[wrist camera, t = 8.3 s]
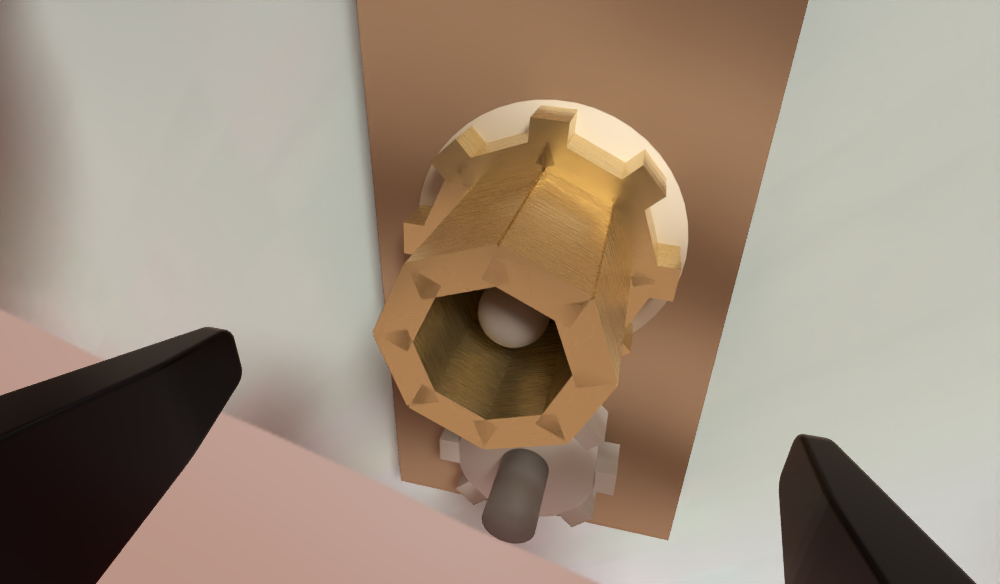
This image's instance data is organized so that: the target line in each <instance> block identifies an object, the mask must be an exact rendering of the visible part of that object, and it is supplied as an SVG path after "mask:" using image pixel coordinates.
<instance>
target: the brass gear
mask: <svg viewBox="0 0 1000 584" xmlns="http://www.w3.org/2000/svg"><path fill="white" fill-rule="evenodd" d="M577 113H578V109H570V108H561V107H553V106H545V105H541V106H540V107H539V108H538V109H537V110H536V111H535V112H534V114H533V115H532V116H531V117H530V123H529V131H527V132H524V133H520V134H517V135H513V136H509V137H506V138H502V139H499V140H495V141H492V142H488V143H485V141H484V140H483V139H482V138H481V136H480V135H479V134H478V133H477V131H476V130H475V129H474V128H473V126H471V127H469V128H468V129H467V130H466V131H464V132H463V133H462V134H461V135H460V136H458V137H457V138H456V139H455V140H454V141H452V142H451V143H450V144H449V145H448V146H447V147H446V148H444V149H443V150H442V151H441V152H440V153H439V154H438V155H436V156H435V157H434V158H433V159H432V160H431V161H430V162H431V164H432V165H433V166H434V167H435V168H436V170H437V171H438V172H439V173H440V174H441V175H442V177H443V178H444V179H445V181H444V183H443V185H442V187H441V189H440V192H439V194H438V196H437V198H436V200H435V203H434V205H433V206H429V205H423V204H422V205H421V206H420V207H419V208H418V209H417V210H416V211H415V212H414V213H413V214H412V215H411V216H410V217H409V218H408V219H407V220H405V221H404V222H403V224H404V253H406V254H411V256H410V258H409V259H408V260H407V261H406V262H405V263H404V264H403V267H402V269H401V271H400V273H399V275H398V278H397V280H396V282H395V284H394V287H393V289H392V291H391V293H390V295H389V298H388V300H387V302H386V304H385V306H384V309H383V311H382V313H381V315H380V317H379V320H378V322H377V324H376V326H375V328H374V331H373V333H374V334H373V336H374V338H375V340H376V342H377V344H378V346H379V348H380V351H381V353H382V355H383V357H384V359H385V361H386V363H387V365H388V367H389V369H390V371H391V374H392V376H393V378H394V380H395V382H396V384H397V386H398V388H399V390H400V392H401V394H402V397H403V399H404V401H405V403H406V405H410V406H409V408H411V409H412V410H414V411H416V412H418V413H419V414H421V415H423V416H425V417H427V418H428V419H430V420H432V421H434V422H435V423H437V424H439V425H441V426H443V427H444V428H446V429H448V430H450V431H451V432H453V433H455V434H457V435H459V436H460V437H462V438H464V439H466V440H467V441H469V442H471V443H473V444H475V445H476V446H478V447H480V448H482V449H483V448H485V450H487V449H502V448H517V447H532V446H546V445H561V444H567V442H568V443H569V442H570V441H571V440H572V439H573V438H574V437H575V435H576V434H577V433H578V432H579V431H580V430H581V428H582V427H583V426H584V425H585V424H586V423H587V421H588V420H589V419H590V418H591V417H592V416H593V414H594V413H595V412H596V411H597V410H598V409H599V407H600V406H601V405H602V404H603V403H604V401H605V400H606V399H607V398H608V397H609V396H610V394H611V393H612V392H613V391H614V390H615V389H616V387H617V386H618V380H619V372H620V363H621V357H623V356H625V355H627V354H629V353H631V344H632V334H633V324H632V323H631V320H632V319H633V318H634V317H635V315H636V314H637V313H638V312H639V310H640V309H641V308H642V307H643V305H644V304H645V303H646V302H647V300H648V299H649V298H655V299H660V300H666V301H671V302H673V300H674V296H675V292H676V288H677V284H678V280H679V277H680V273H681V253H680V246H675V245H668V244H662V243H658V240H657V236H656V231H655V227H654V222H653V218H652V213H651V209H650V207H651V206H652V205H654V204H655V203H657V202H658V201H660V200H662V199H663V198H665V197H666V177H665V175H664V174H663V173H662V171H661V170H660V169H659V167H658V166H657V164H656V163H655V162H654V160H653V159H652V158H651V156H650V155H649V154H648V152H647V151H646V149H644V150H643V151H641V152H640V153H638V154H637V155H636V156H634V157H633V158H631V159H630V160H628V161H627V162H626V163H625V162H624V161H622V160H620V159H619V158H617V157H615V156H613V155H612V154H610V153H608V152H607V151H605V150H603V149H601V148H600V147H598V146H596V145H595V144H593V143H591V142H589V141H588V140H586V139H584V138H583V137H581V136H579V135H577V134H576V133H575V128H576V120H577ZM491 287H497V288H499V289H501V290H502V291H504V292H506V293H508V294H509V295H511V296H513V297H515V298H516V299H518V300H520V301H522V302H523V303H525V304H527V305H529V306H530V307H532V308H534V309H536V310H537V311H539V312H541V313H543V314H544V315H546V316H548V317H550V321H549V324H548V326H547V328H546V330H545V332H544V333H543V334H542V336H541V337H540V338H539V339H537V340H536V341H535V342H533V343H531V344H529V345H527V346H524V347H519V348H509V347H504V346H501V345H499V344H497V343H495V342H494V341H492V340H491V339H490V338H489V337H488V336H487V335H486V334H485V332H484V331H483V329H482V327H481V324H480V322H479V317H478V306H479V301H480V299H481V296H482V294H483V292H484V291H485V289H486V288H491Z"/></svg>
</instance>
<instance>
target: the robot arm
mask: <svg viewBox="0 0 1000 584" xmlns="http://www.w3.org/2000/svg"><path fill="white" fill-rule="evenodd" d="M241 375H242V367H241V363H240V359H239V355H238V351H237V347H236V343H235V339H234V337H233V335H232V334H231V332H229V331H228V330H224V329H219V328H213V327H204V328H201V329H198V330H195V331H192V332H189V333H186V334H183V335H180V336H177V337H174V338H171V339H168V340H165V341H162V342H159V343H156V344H153V345H150V346H147V347H144V348H141V349H138V350H135V351H132V352H129V353H126V354H123V355H120V356H117V357H114V358H111V359H108V360H105V361H102V362H99V363H96V364H93V365H90V366H87V367H84V368H81V369H78V370H75V371H72V372H69V373H66V374H63V375H60V376H57V377H54V378H52V379H48V380H46V381H42V382H39V383H36V384H33V385H31V386H27V387H24V388H21V389H18V390H16V391H12V392H10V393H6V394H4V395H1V396H0V584H96V583H97V582H98V580H99V579H100V578H101V576H102V575H103V574H104V572H105V571H106V570H107V569H108V567H109V566H110V565H111V563H112V562H113V561H114V559H115V558H116V557H117V556H118V554H119V553H120V552H121V550H122V549H123V548H124V546H125V545H126V544H127V542H128V541H129V540H130V539H131V537H132V536H133V535H134V533H135V532H136V531H137V529H138V528H139V527H140V525H141V524H142V523H143V521H144V520H145V519H146V517H147V516H148V515H149V514H150V512H151V511H152V510H153V508H154V507H155V506H156V505H157V503H158V502H159V501H160V499H161V498H162V497H163V495H164V494H165V493H166V491H167V490H168V489H169V487H170V486H171V485H172V483H173V482H174V481H175V480H176V478H177V477H178V476H179V474H180V473H181V472H182V471H183V469H184V468H185V466H186V465H187V464H188V462H189V461H190V460H191V458H192V457H193V455H194V454H195V452H196V451H197V449H198V448H199V446H200V445H201V443H202V442H203V440H204V438H205V437H206V435H207V434H208V432H209V430H210V429H211V427H212V426H213V424H214V422H215V421H216V419H217V417H218V416H219V414H220V413H221V411H222V409H223V408H224V406H225V405H226V403H227V401H228V400H229V398H230V397H231V395H232V393H233V392H234V390H235V389H236V387H237V385H238V384H239V382H240V379H241ZM779 501H780V516H781V531H782V546H783V562H784V577H785V584H976V583H975V582H974V581H973V580H972V579H971V578H970V577H969V576H968V575H967V574H966V573H965V572H964V571H963V570H962V569H961V568H960V567H959V566H958V565H957V564H956V563H955V562H954V561H953V560H952V559H951V558H950V557H949V556H948V555H947V554H946V553H945V552H944V551H943V550H942V549H941V548H940V547H939V546H938V545H937V544H936V543H935V542H934V541H933V540H932V539H931V538H930V537H929V536H928V535H927V534H926V533H925V532H924V531H923V530H922V529H921V528H920V527H919V526H918V525H917V524H916V523H915V522H914V521H913V520H912V519H911V518H910V517H909V516H908V515H907V514H906V513H905V512H904V511H903V510H902V509H901V508H900V507H899V506H898V505H897V504H896V503H895V502H894V501H893V500H892V499H891V498H890V497H889V496H888V495H887V494H886V493H885V492H884V491H883V490H882V489H881V488H880V487H879V486H878V485H877V484H876V483H875V482H874V481H873V480H872V479H871V478H870V477H869V476H868V475H867V474H866V473H865V472H864V471H863V470H862V469H861V468H860V467H859V466H858V465H857V464H856V463H855V462H854V461H853V460H852V459H851V458H850V457H849V456H848V455H847V454H846V453H845V452H844V451H843V450H842V449H841V448H840V447H839V446H838V445H837V444H836V443H834V442H833V441H832V440H830V439H828V438H823V437H817V436H812V435H806V434H801V435H798V436H797V437H796V438H795V440H794V442H793V444H792V447H791V449H790V452H789V455H788V457H787V460H786V462H785V465H784V468H783V470H782V473H781V476H780V482H779Z"/></svg>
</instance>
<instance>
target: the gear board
mask: <svg viewBox="0 0 1000 584" xmlns="http://www.w3.org/2000/svg"><path fill="white" fill-rule="evenodd" d="M356 1H357V12H358V23H359V33H360V44H361V55H362V65H363V76H364V87H365V98H366V108H367V119H368V130H369V140H370V151H371V162H372V172H373V183H374V194H375V204H376V215H377V226H378V237H379V247H380V258H381V269H382V279H383V290H384V301H385V304H386V302H387V300H388V298H389V295H390V293H391V291H392V289H393V287H394V284H395V282H396V280H397V278H398V275H399V273H400V271H401V269H402V267H403V264H404V263H405V262H406V261H407V260H408V259H409V258H410V256H411V254H406V253H404V224H403V222H404V221H405V220H407V219H408V218H409V217H410V216H411V215H412V214H413V213H414V212H415V211H416V210H417V209H418V208H419V207H420V206H421V205H422V204H423V205H429V206H433V205H434V203H435V200H436V198H437V196H438V194H439V192H440V189H441V187H442V185H443V183H444V181H445V179H444V178H443V177H442V175H441V174H440V173H439V172H438V171H437V170H436V168H435V167H434V166H433V165H432V164H431V162H430V161H431V160H432V159H433V158H434V157H435V156H436V155H438V154H439V153H440V152H441V151H442V150H443V149H444V148H446V147H447V146H448V145H449V144H450V143H451V142H452V141H454V140H455V139H456V138H457V137H458V136H460V135H461V134H462V133H463V132H464V131H466V130H467V129H468V128H469V127H471V126H473V128H474V129H475V130H476V131H477V133H478V134H479V135H480V136H481V138H482V139H483V140H484V141H485V143H488V142H492V141H495V140H499V139H502V138H506V137H509V136H513V135H517V134H520V133H524V132H527V131H529V123H530V117H531V116H532V115H533V114H534V112H535V111H536V110H537V109H538V108H539V107H540V106H541V105H545V106H553V107H561V108H570V109H578V113H577V120H576V128H575V133H576V134H577V135H579V136H581V137H583V138H584V139H586V140H588V141H589V142H591V143H593V144H595V145H596V146H598V147H600V148H601V149H603V150H605V151H607V152H608V153H610V154H612V155H613V156H615V157H617V158H619V159H620V160H622V161H624V162H625V163H626V162H627V161H628V160H630V159H631V158H633V157H634V156H636V155H637V154H638V153H640V152H641V151H643V150H644V149H646V151H647V152H648V154H649V155H650V156H651V158H652V159H653V160H654V162H655V163H656V164H657V166H658V167H659V169H660V170H661V171H662V173H663V174H664V175H665V177H666V197H665V198H663V199H662V200H660V201H658V202H657V203H655V204H654V205H652V206H651V207H650V209H651V213H652V218H653V222H654V227H655V231H656V236H657V240H658V243H662V244H668V245H675V246H680V253H681V273H680V277H679V280H678V284H677V288H676V292H675V296H674V300H673V302H671V301H666V300H660V299H655V298H649V299H648V300H647V302H646V303H645V304H644V305H643V307H642V308H641V309H640V310H639V312H638V313H637V314H636V315H635V317H634V318H633V319H632V320H631V323H632V324H633V334H632V344H631V353H629V354H627V355H625V356H623V357H621V363H620V372H619V380H618V386H617V387H616V389H615V390H614V391H613V392H612V393H611V394H610V396H609V397H608V398H607V399H606V400H605V401H604V403H603V404H602V405H601V406H600V407H599V409H598V410H597V411H596V412H595V413H594V414H593V416H592V417H591V418H590V419H589V420H588V421H587V423H586V424H585V425H584V426H583V427H582V428H581V430H580V431H579V432H578V433H577V434H576V435H575V437H574V438H573V439H572V440H571V441H570V442H569V443H568V442H567V444H561V445H546V446H532V447H517V448H502V449H487V450H485V448H483V449H482V448H480V447H478V446H476V445H475V444H473V443H471V442H469V441H467V440H466V439H464V438H462V437H460V436H459V435H457V434H455V433H453V432H451V431H450V430H448V429H446V428H444V427H443V426H441V425H439V424H437V423H435V422H434V421H432V420H430V419H428V418H427V417H425V416H423V415H421V414H419V413H418V412H416V411H414V410H412V409H411V408H409V406H410V405H406V403H405V401H404V399H403V397H402V394H401V392H400V390H399V388H398V386H397V384H396V382H395V380H394V378H393V376H392V374H391V376H392V386H393V397H394V408H395V418H396V429H397V440H398V450H399V461H400V472H401V481H405V482H410V483H414V484H419V485H423V486H428V487H432V488H437V489H441V490H446V491H450V492H455V493H459V494H463V495H464V496H465V497H466V498H467V499H468V500H469V501H470V502H471V503H472V504H473V505H475V504H477V503H479V502H481V501H483V500H485V499H486V500H487V503H486V506H485V509H484V512H483V515H482V523H483V525H484V527H485V529H486V530H487V531H488V532H489V533H490V534H491V535H493V536H494V537H496V538H497V539H499V540H502V541H505V542H509V543H524V542H526V541H529V540H530V539H531V538H532V537H533V536H534V534H535V530H536V525H537V521H538V517H539V516H553V515H557V516H561V517H562V518H563V519H564V520H565V521H566V522H567V523H568V524H569V525H570V526H571V527H573V526H576V525H578V524H581V523H583V522H589V523H593V524H598V525H602V526H607V527H611V528H616V529H620V530H624V531H629V532H633V533H638V534H642V535H647V536H651V537H656V538H660V539H665V540H668V539H669V535H670V531H671V527H672V523H673V520H674V516H675V512H676V508H677V504H678V500H679V496H680V493H681V489H682V485H683V481H684V477H685V473H686V470H687V466H688V462H689V458H690V454H691V450H692V446H693V443H694V439H695V435H696V431H697V427H698V423H699V420H700V416H701V412H702V408H703V404H704V400H705V396H706V393H707V389H708V385H709V381H710V377H711V373H712V370H713V366H714V362H715V358H716V354H717V350H718V346H719V343H720V339H721V335H722V331H723V327H724V323H725V320H726V316H727V312H728V308H729V304H730V300H731V296H732V293H733V289H734V285H735V281H736V277H737V273H738V270H739V266H740V262H741V258H742V254H743V250H744V246H745V243H746V239H747V235H748V231H749V227H750V223H751V220H752V216H753V212H754V208H755V204H756V200H757V196H758V193H759V189H760V185H761V181H762V177H763V173H764V170H765V166H766V162H767V158H768V154H769V150H770V146H771V143H772V139H773V135H774V131H775V127H776V123H777V120H778V116H779V112H780V108H781V104H782V100H783V96H784V93H785V89H786V85H787V81H788V77H789V73H790V70H791V66H792V62H793V58H794V54H795V50H796V46H797V43H798V39H799V35H800V31H801V27H802V23H803V20H804V16H805V12H806V8H807V4H808V0H356ZM478 317H479V322H480V324H481V327H482V329H483V331H484V332H485V334H486V335H487V336H488V337H489V338H490V339H491V340H492V341H494V342H495V343H497V344H499V345H501V346H504V347H509V348H519V347H524V346H527V345H529V344H531V343H533V342H535V341H536V340H537V339H539V338H540V337H541V336H542V334H543V333H544V332H545V330H546V328H547V326H548V324H549V321H550V317H548V316H546V315H544V314H543V313H541V312H539V311H537V310H536V309H534V308H532V307H530V306H529V305H527V304H525V303H523V302H522V301H520V300H518V299H516V298H515V297H513V296H511V295H509V294H508V293H506V292H504V291H502V290H501V289H499V288H497V287H491V288H486V289H485V291H484V292H483V294H482V296H481V299H480V301H479V306H478Z"/></svg>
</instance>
